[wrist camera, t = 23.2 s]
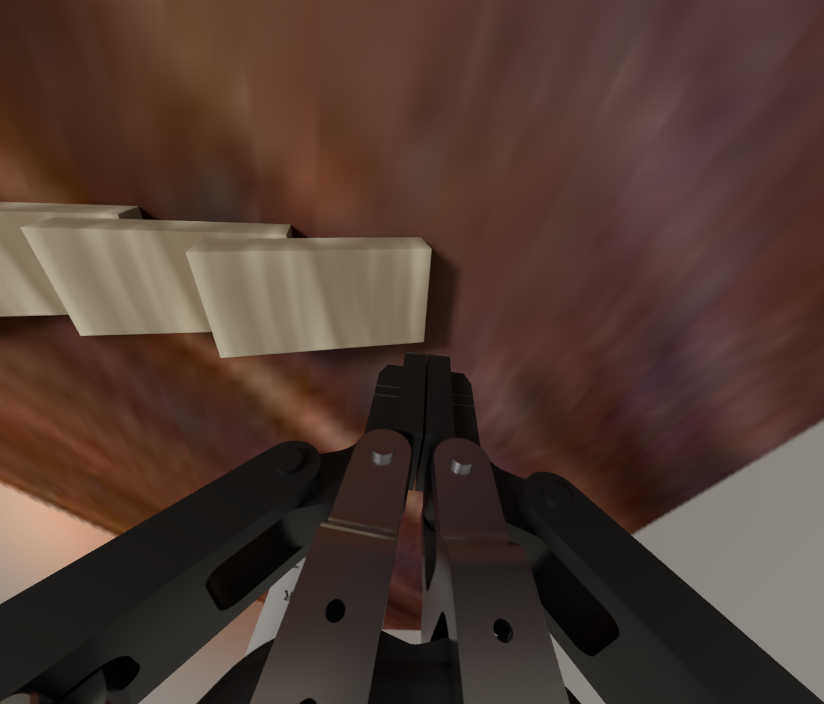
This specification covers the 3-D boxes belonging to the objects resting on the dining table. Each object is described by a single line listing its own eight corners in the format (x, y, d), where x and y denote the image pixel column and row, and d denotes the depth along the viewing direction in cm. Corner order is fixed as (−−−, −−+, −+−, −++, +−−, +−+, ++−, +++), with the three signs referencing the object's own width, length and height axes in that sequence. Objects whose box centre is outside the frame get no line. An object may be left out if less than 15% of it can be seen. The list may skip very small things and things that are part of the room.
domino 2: (286, 234, 15) (20, 227, 13) (298, 329, 18) (80, 335, 16) (290, 224, 17) (54, 216, 15) (301, 312, 19) (104, 316, 17)
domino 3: (431, 248, 15) (185, 252, 13) (423, 342, 18) (220, 357, 15) (420, 237, 16) (201, 238, 14) (415, 324, 19) (230, 336, 17)
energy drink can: (346, 565, 36) (298, 790, 24) (314, 579, 39) (255, 790, 26) (303, 542, 34) (225, 776, 21) (271, 559, 36) (185, 778, 24)
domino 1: (117, 214, 15) (-175, 206, 13) (157, 312, 18) (-79, 318, 16) (138, 206, 17) (-118, 198, 15) (171, 297, 19) (-41, 301, 17)
